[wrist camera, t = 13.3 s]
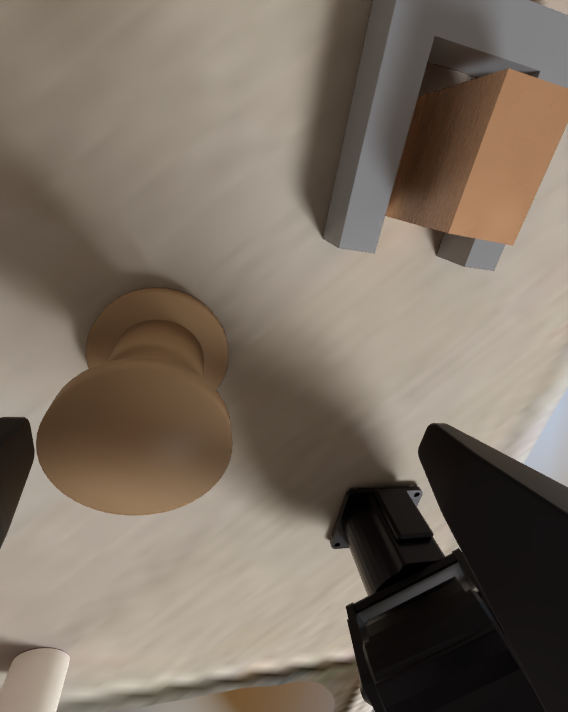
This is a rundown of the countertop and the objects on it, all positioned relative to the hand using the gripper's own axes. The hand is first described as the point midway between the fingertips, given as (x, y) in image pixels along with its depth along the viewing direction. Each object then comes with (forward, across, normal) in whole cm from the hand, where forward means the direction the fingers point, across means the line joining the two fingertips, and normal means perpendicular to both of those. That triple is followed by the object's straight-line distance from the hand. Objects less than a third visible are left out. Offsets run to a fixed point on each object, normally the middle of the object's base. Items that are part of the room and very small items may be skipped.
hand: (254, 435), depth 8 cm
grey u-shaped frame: (+12, -9, -7) cm, 17 cm away
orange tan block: (+12, -9, -7) cm, 17 cm away
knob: (+12, +3, +4) cm, 13 cm away
